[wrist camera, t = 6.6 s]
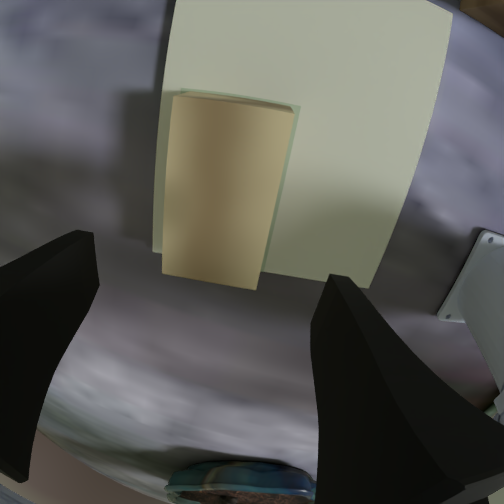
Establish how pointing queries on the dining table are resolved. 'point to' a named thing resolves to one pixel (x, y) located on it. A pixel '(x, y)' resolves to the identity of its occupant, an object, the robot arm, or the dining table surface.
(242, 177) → the birch slab
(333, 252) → the board
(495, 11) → the walnut cube
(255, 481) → the bonsai tree
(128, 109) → the dining table surface
